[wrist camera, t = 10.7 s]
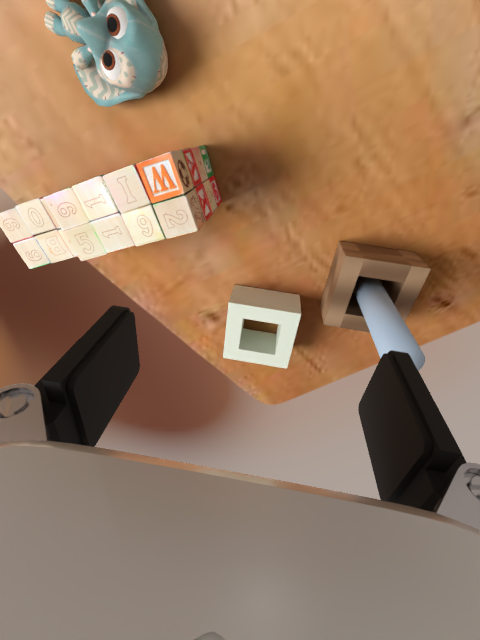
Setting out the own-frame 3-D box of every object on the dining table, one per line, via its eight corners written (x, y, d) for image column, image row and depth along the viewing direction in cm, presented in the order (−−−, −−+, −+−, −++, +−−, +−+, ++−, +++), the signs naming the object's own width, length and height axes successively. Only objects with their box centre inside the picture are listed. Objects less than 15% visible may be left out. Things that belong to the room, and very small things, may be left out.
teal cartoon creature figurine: (2, -117, 21) (149, -41, 21) (79, -56, 27) (194, 4, 27) (6, 67, 27) (121, 130, 26) (68, 83, 33) (163, 135, 32)
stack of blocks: (76, 242, 41) (7, 281, 31) (49, 195, 38) (-38, 221, 28) (223, 201, 36) (198, 232, 26) (206, 142, 33) (170, 151, 23)
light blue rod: (355, 266, 38) (392, 344, 25) (380, 270, 38) (432, 350, 25) (347, 289, 40) (378, 372, 26) (371, 293, 40) (415, 378, 26)
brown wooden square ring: (338, 240, 37) (345, 255, 32) (414, 252, 36) (431, 268, 32) (319, 304, 42) (323, 324, 37) (386, 315, 41) (397, 336, 37)
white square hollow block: (234, 284, 42) (228, 302, 37) (299, 294, 41) (301, 314, 37) (228, 336, 46) (223, 357, 42) (286, 346, 46) (286, 368, 42)
